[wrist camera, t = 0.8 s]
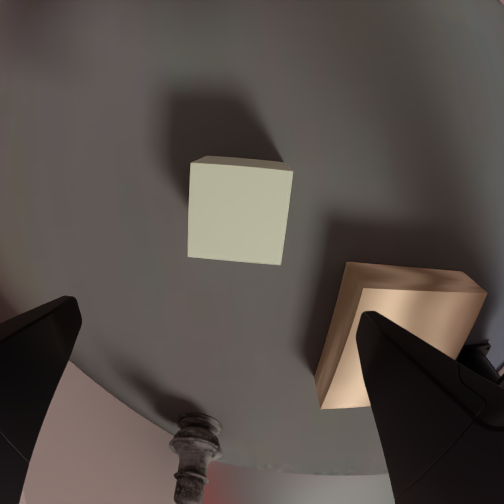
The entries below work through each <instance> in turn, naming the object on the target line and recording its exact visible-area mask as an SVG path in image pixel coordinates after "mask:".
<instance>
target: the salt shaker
mask: <svg viewBox="0 0 504 504" xmlns="http://www.w3.org/2000/svg"><path fill="white" fill-rule="evenodd" d="M177 425H178V427H179V428H180V429H181V430H179V431H178V432H177V434H176V435H175V436H174V437H173V439H172V440H171V441H170V442H169V447H170V449H171V450H172V451H173V452H174V453H175V454H177V455H178V456H179V466H178V472H176V473H175V474H174V477H175V479H177V481H176V487H175V493H174V502H175V503H176V504H202V502H203V493H204V485H205V484H208V482H209V480H208V479H207V478H206V474H207V466H208V464H209V462H210V461H215V460H217V459H219V458H220V457H221V456H222V454H223V452H222V449H221V448H220V443H219V441H218V438H217V437H216V436H217V435H219V434H220V433H221V432H222V425H221V424H220V423H219V422H218V421H217V420H216V419H214V418H212V417H210V416H207V415H203V414H196V413H190V414H184V415H182V416H180V417H179V418H178V419H177Z"/></svg>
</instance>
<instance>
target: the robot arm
mask: <svg viewBox="0 0 504 504" xmlns="http://www.w3.org/2000/svg"><path fill="white" fill-rule="evenodd" d="M81 325H82V317H81V313H80V310H79V306H78V303H77V300H76V298H75V297H72V296H62V297H60V298H57V299H55V300H53V301H50V302H48V303H46V304H43V305H41V306H39V307H36V308H34V309H32V310H29V311H27V312H25V313H22V314H20V315H18V316H16V317H13V318H11V319H9V320H7V321H4V322H2V323H0V504H19V503H20V498H21V494H22V490H23V486H24V482H25V478H26V475H27V471H28V468H29V463H30V460H31V457H32V454H33V451H34V447H35V444H36V441H37V438H38V436H39V433H40V430H41V427H42V424H43V422H44V419H45V416H46V414H47V411H48V408H49V406H50V403H51V401H52V398H53V396H54V393H55V391H56V389H57V386H58V384H59V382H60V379H61V377H62V375H63V372H64V370H65V368H66V366H67V363H68V361H69V358H70V356H71V353H72V350H73V347H74V344H75V341H76V339H77V336H78V333H79V330H80V328H81ZM356 344H357V349H358V354H359V359H360V364H361V370H362V375H363V380H364V384H365V387H366V391H367V394H368V398H369V401H370V404H371V408H372V411H373V415H374V418H375V422H376V426H377V429H378V433H379V437H380V441H381V444H382V448H383V452H384V456H385V460H386V464H387V468H388V473H389V477H390V481H391V486H392V490H393V495H394V499H395V504H504V374H503V375H502V376H500V375H499V373H498V372H497V371H496V369H495V368H494V367H493V365H492V364H491V363H490V361H489V360H488V359H487V358H486V355H487V353H488V351H489V349H490V347H491V345H490V344H489V343H486V344H479V345H472V346H464V347H462V349H461V350H460V352H459V354H458V356H457V358H456V359H455V360H454V359H452V358H451V357H449V356H448V355H446V354H444V353H443V352H441V351H440V350H438V349H436V348H435V347H433V346H432V345H430V344H428V343H427V342H425V341H424V340H422V339H420V338H419V337H417V336H416V335H414V334H412V333H411V332H409V331H407V330H406V329H404V328H403V327H401V326H399V325H398V324H396V323H394V322H393V321H391V320H390V319H388V318H386V317H385V316H383V315H381V314H380V313H378V312H377V311H364V312H363V313H362V314H361V317H360V321H359V324H358V328H357V331H356Z"/></svg>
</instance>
